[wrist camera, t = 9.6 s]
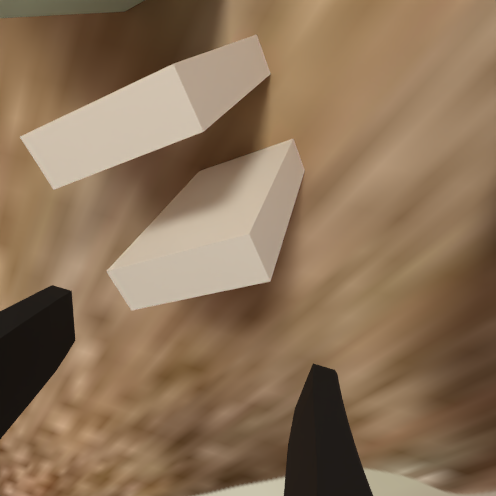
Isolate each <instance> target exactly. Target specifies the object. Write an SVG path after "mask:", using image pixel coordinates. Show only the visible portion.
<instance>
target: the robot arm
mask: <svg viewBox="0 0 496 496" xmlns="http://www.w3.org/2000/svg"><path fill="white" fill-rule="evenodd" d="M74 342H75V330H74V317H73V304H72V291H70V290H66V289H63V288H60V287H56V286H53V285H52V286H50V287H48V288H46V289H44V290H42V291H40V292H38V293H36V294H34V295H32V296H30V297H28V298H26V299H24V300H22V301H20V302H18V303H16V304H14V305H12V306H10V307H8V308H6V309H4V310H2V311H0V439H1V438H2V436H3V435H4V434H5V433H6V431H7V430H8V429H9V428H10V427H11V425H12V424H13V423H14V422H15V421H16V419H17V418H18V417H19V416H20V414H21V413H22V412H23V411H24V410H25V408H26V407H27V406H28V405H29V404H30V402H31V401H32V400H33V399H34V397H35V396H36V395H37V394H38V393H39V391H40V390H41V389H42V388H43V386H44V385H45V384H46V383H47V382H48V380H49V379H50V378H51V377H52V375H53V374H54V373H55V371H56V370H57V369H58V367H59V366H60V364H61V362H62V361H63V359H64V358H65V356H66V355H67V353H68V351H69V350H70V348H71V347H72V345H73V343H74ZM284 496H373V494H372V492H371V489H370V487H369V484H368V481H367V479H366V475H365V473H364V470H363V467H362V464H361V461H360V458H359V455H358V452H357V449H356V446H355V443H354V439H353V436H352V433H351V430H350V426H349V423H348V419H347V415H346V412H345V408H344V404H343V400H342V395H341V391H340V386H339V381H338V375H337V373H336V371H335V370H333V369H330V368H326V367H323V366H320V365H316V364H313V365H312V367H311V370H310V372H309V375H308V377H307V380H306V382H305V385H304V387H303V390H302V392H301V395H300V397H299V400H298V402H297V405H296V407H295V411H294V416H293V422H292V427H291V432H290V438H289V443H288V453H287V465H286V477H285V489H284Z"/></svg>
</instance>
